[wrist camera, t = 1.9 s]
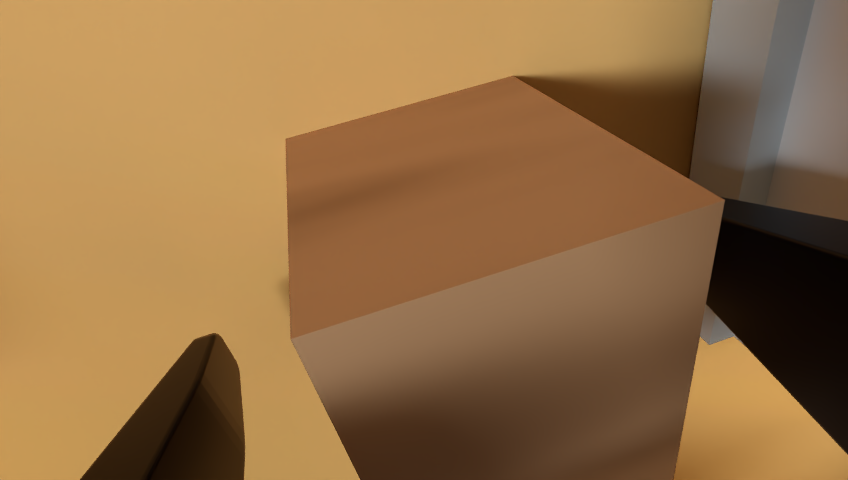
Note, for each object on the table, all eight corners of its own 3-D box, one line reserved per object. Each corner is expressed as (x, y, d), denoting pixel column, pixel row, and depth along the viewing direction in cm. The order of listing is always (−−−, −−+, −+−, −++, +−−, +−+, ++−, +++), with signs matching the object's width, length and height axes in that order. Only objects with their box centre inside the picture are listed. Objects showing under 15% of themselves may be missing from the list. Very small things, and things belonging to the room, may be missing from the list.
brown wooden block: (531, 301, 13) (669, 500, 8) (367, 355, 12) (419, 596, 8) (511, 74, 9) (724, 199, 5) (285, 137, 9) (290, 339, 4)
